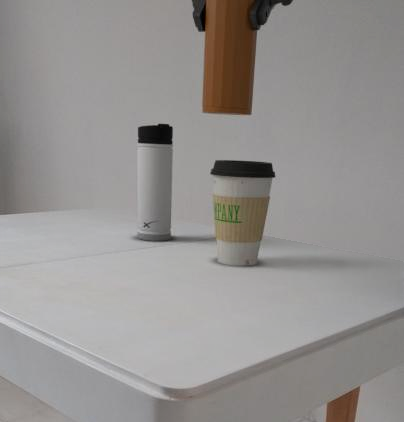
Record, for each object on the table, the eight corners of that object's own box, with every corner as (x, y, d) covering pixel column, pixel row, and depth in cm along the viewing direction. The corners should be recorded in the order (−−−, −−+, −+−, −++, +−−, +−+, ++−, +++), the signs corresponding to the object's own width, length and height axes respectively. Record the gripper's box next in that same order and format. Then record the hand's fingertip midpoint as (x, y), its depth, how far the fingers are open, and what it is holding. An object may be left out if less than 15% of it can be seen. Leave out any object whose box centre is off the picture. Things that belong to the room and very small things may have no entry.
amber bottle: (251, 115, 71) (262, -56, 65) (251, 114, 66) (264, -73, 59) (204, 113, 72) (210, -57, 65) (200, 111, 66) (207, -75, 59)
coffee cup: (207, 254, 94) (211, 159, 89) (266, 257, 94) (273, 161, 88) (205, 266, 85) (209, 161, 80) (270, 269, 85) (279, 164, 79)
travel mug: (148, 242, 102) (149, 122, 95) (131, 236, 107) (131, 122, 100) (177, 240, 105) (180, 124, 98) (160, 234, 110) (162, 124, 103)
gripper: (327, -42, 70) (291, 53, 64) (220, -34, 75) (178, 54, 70) (322, -111, 64) (282, -13, 58) (206, -97, 69) (158, -6, 63)
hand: (225, 23), depth 64 cm, fingers closed on amber bottle, 6 cm apart
